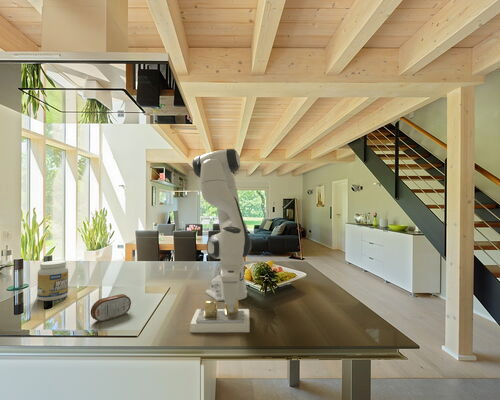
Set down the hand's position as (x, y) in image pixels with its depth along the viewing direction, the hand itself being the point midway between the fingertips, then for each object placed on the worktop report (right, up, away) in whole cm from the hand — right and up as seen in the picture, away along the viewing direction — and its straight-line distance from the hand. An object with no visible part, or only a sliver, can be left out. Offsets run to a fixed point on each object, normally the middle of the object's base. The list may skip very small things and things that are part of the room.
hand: (231, 308), depth 105 cm
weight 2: (0, -2, 0) cm, 2 cm away
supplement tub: (-88, -7, +31) cm, 94 cm away
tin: (-48, -7, +7) cm, 49 cm away
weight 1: (-8, -2, 0) cm, 8 cm away
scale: (-4, -7, +2) cm, 8 cm away
